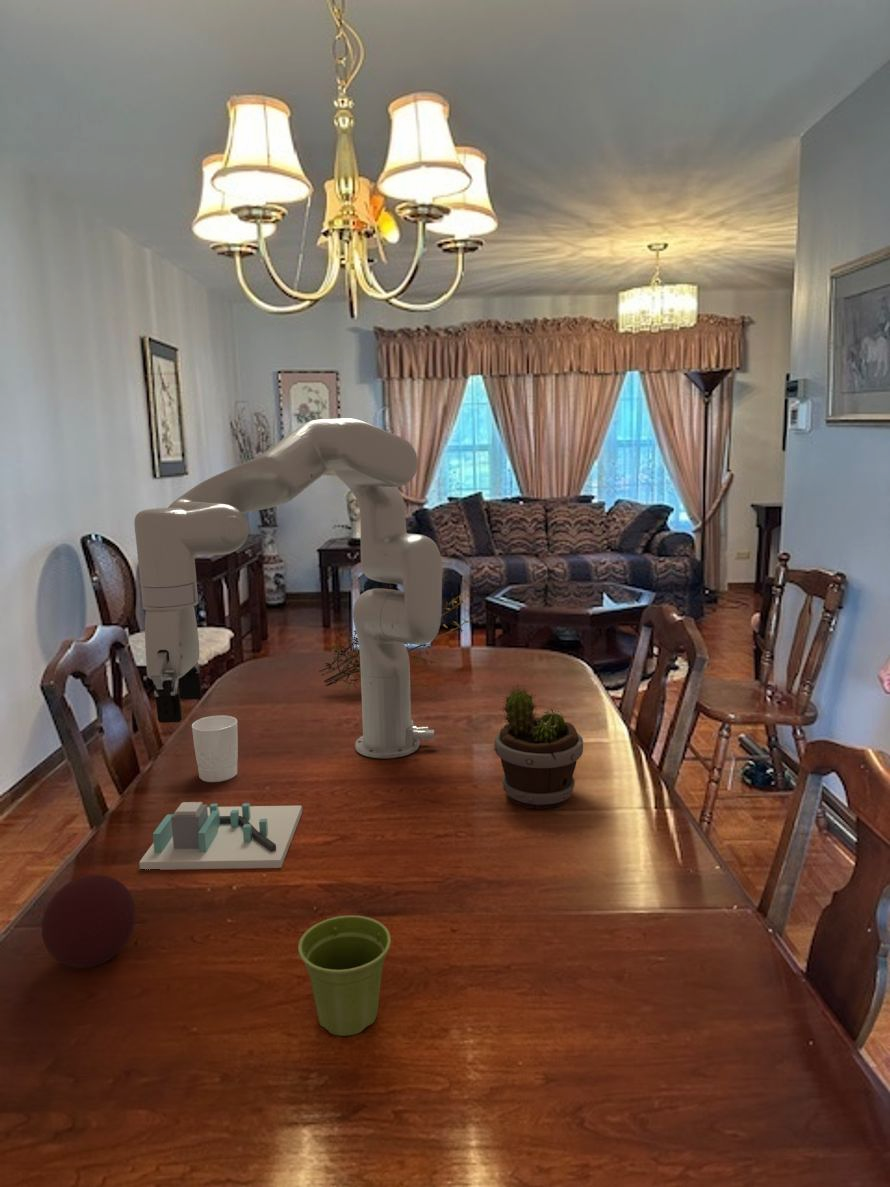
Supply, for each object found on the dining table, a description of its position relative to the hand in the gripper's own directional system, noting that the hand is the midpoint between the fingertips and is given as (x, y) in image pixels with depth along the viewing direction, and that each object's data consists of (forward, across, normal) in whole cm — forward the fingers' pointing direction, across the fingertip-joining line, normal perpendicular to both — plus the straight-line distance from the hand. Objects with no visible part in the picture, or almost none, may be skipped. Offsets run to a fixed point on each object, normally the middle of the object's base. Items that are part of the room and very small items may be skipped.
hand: (181, 709), depth 115 cm
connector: (+20, +3, +1) cm, 20 cm away
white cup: (+21, -24, -3) cm, 32 cm away
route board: (+21, 0, +5) cm, 21 cm away
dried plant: (+22, -73, +30) cm, 82 cm away
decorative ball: (+21, +28, -3) cm, 35 cm away
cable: (+20, +1, +7) cm, 21 cm away
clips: (+20, -1, +7) cm, 21 cm away
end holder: (+20, +3, 0) cm, 20 cm away
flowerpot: (+22, -12, +54) cm, 60 cm away
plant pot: (+21, +38, +27) cm, 52 cm away
